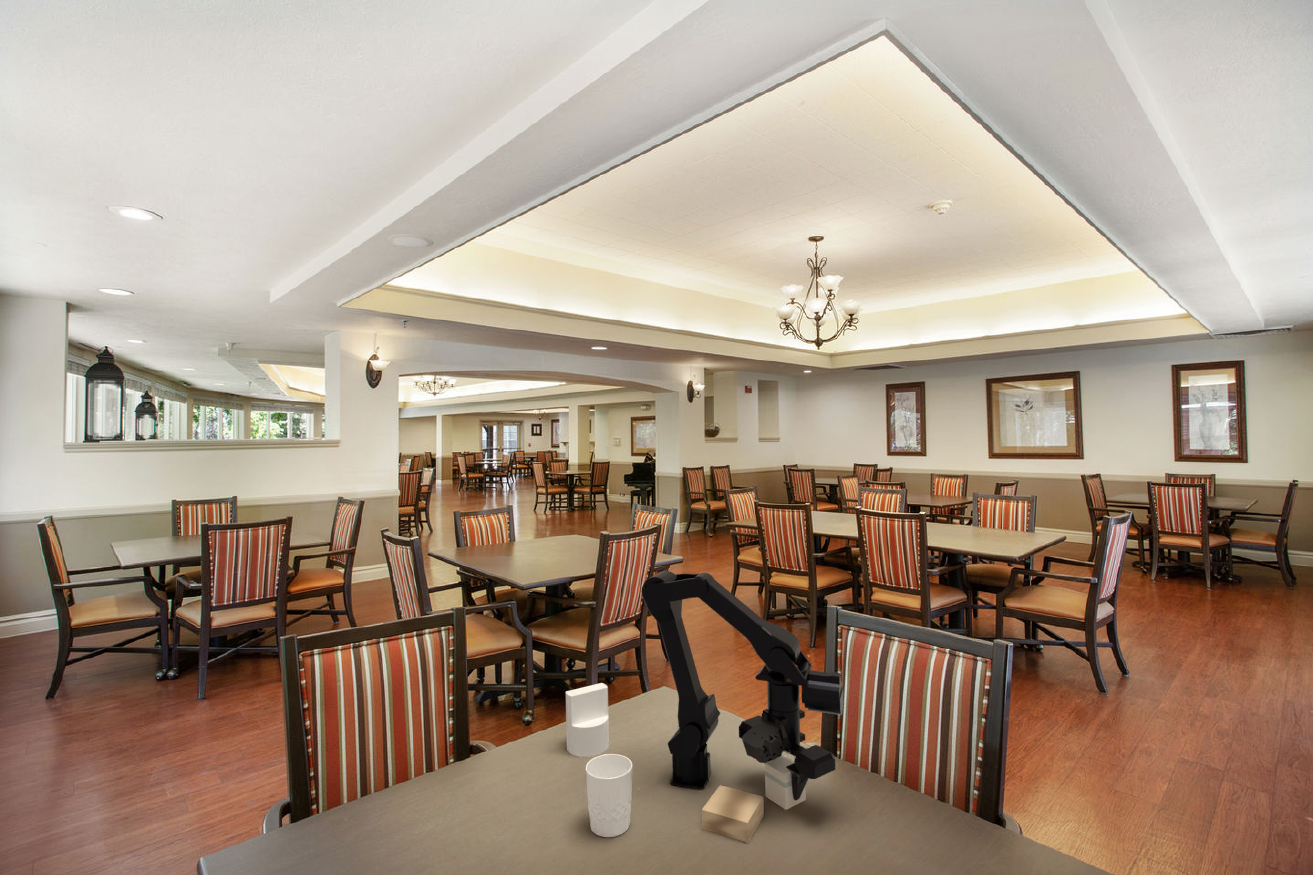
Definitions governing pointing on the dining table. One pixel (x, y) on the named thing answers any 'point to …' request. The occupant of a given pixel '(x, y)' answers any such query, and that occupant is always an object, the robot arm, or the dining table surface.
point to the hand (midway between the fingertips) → (785, 792)
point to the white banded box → (781, 783)
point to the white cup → (609, 794)
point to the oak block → (733, 813)
